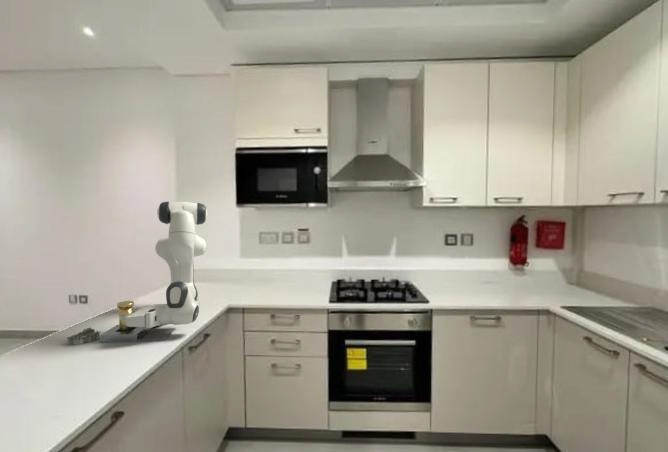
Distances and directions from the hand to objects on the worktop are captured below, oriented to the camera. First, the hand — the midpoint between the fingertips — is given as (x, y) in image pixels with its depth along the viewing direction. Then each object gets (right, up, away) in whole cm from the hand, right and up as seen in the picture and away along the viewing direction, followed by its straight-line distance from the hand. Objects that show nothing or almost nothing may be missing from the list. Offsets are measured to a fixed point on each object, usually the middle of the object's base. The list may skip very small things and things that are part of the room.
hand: (123, 315), depth 154 cm
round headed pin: (+1, -8, 0) cm, 8 cm away
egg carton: (-13, -9, -5) cm, 17 cm away
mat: (+14, -9, +2) cm, 17 cm away
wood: (+7, -9, +19) cm, 22 cm away
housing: (+1, -9, +1) cm, 9 cm away
